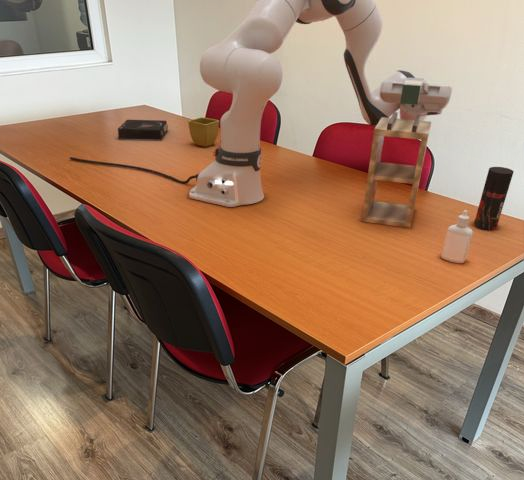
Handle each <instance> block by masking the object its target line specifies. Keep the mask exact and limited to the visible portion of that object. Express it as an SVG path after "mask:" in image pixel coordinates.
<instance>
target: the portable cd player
mask: <svg viewBox="0 0 524 480" xmlns="http://www.w3.org/2000/svg"><path fill="white" fill-rule="evenodd" d="M168 130H169V125H168V122H167V120H161V119H160V120H159V119H157V120H155V119H126V120H125V121H124V122H123V123H122V124H121V125H120V126H119V127H118V128H117V133H118V140H120V141H121V140H122V141H124V140H126V141H155V142H157V141H159V142H160V141H161V140H162V139H163V138H164V136H165V135H166V133H167V132H168Z"/></svg>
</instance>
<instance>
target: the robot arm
mask: <svg viewBox="0 0 524 480" xmlns="http://www.w3.org/2000/svg"><path fill="white" fill-rule="evenodd" d="M331 18H336V21H337V23H338V25H339V27H340V29H341V30H342V32H343V35H344V40H345V49H344V52H343V60H344V65H345V67H346V70H347V73H348V76H349V79H350V83H351V85H352V87H353V90H354V93H355V96H356V99H357V102H358V106H359V110H360V114H361V116H362V118H363V120H364V121H365V122H366V123H367V124H368V125H370V126H371V127H376V126H377V124H378V122H379V121H380V119H381V118H382V117H385V118H391V117H392V115H393V113H394V112H397V111H399V119H407V120H415V118H416V116H417V114H421V117H420V121H427V119H428V116H437V115H441V114H442V113H443V110H444V109H446V107H447V106H448V104H449V103H450V100H451V96H452V91H453V87H452V86H451V85H446V84H445V85H444V84H432V83H427V82H426V81H427V80H425V79H424V81H423V87H422V92H421V97H420V100H419V102H418V104H417V105H415V104H403V103H400V101H401V95H402V88H403V84H404V82H405V81H406V79H407V78H416V77H415V76H414V75H413V74H412V73H411V72H410V71H407V70H402V69H401V70H400V69H399V70H396V71H394V72H393V73H392V74H391V75H390V76H388V77H387V78H386V79H385V80H384V81H382V82H381V83H380V85H378V86H377V87H376V88H375V89H374V90H373V91H371V88H370V86H369V83H368V79H367V77H366V74H365V73H366V72H365V68H366V63H367V61H368V60H369V57H370V55H371V53H372V52H373V50H374V48H375V47H376V45H377V43H378V42H379V39H380V37H381V34H382V30H383V19H382V15H381V12H380V10H379V8H378V6H377V4H376V2H375V0H257V1H256V2H255V4H254V5H253V7H252V9H250V12H249V13H248V15H247V16H246V17H245V18H244V20H243V21H242V22H241V23H240V24H239V25H238V26H237V27H236V28H234V30H233V31H231V32H230V33H229V34H228V35H227V36H225V38H223V39H222V40H221V41H220V42H218V43H217V44H214V45H213V46H210V47H208V48H206V50H205V51H203V53H202V55H201V57H200V61H199V72H200V76H201V79H202V80H203V82H204V83H205V84H206V85H208V86H210V87H211V88H212V89H215V90H217V91H219V92H224V93H228V94H232V101H231V105H230V107H229V110H226V111H225V112H224V113H223V115H222V116H221V118H220V120H219V128H220V144H219V145H217V147H216V148H215V149H214V151H213V152H212V157H215V159H214V160H213V161H212V162H211V163H209V164H208V165H207V166H206V167H205V168H203V169H202V170H201V171H200V172H199V173H196V174H195V175H191V176H189V177H187V179H186V180H180V179H178V178H176V177H174V176H172V175H168V174H166V173H163V172H160V171H156V170H153V169H149V168H145V167H140V166H136V165H128V164H121V163H114V162H106V161H97V160H90V159H83V158H77V157H74V156H70V157H69V159H70V160H72V161H77V162H83V163H89V164H97V165H103V166H112V167H113V166H114V167H119V168H120V167H121V168H129V169H135V170H139V171H144V172H148V173H152V174H156V175H159V176H162V177H164V178H167V179H170V180H172V181H174V182H176V183H178V184H183V185H184V184H185V185H186V184H189V182H190V181H191V180H192V179H195V182H196V185H195V186H192V188H191V189H190V190H189V193H188V197H189V199H192V200H196V201H201V202H206V203H210V204H214V205H219V206H223V207H228V208H235V207H238V206H245V205H246V206H247V205H253V204H257V203H259V202H261V201H263V200H264V199H265V194H264V191H263V184H262V176H261V168H262V148H261V145H260V144H261V127H262V126H261V124H262V118H263V114H264V111H265V107H266V106H267V104H268V102H269V100H270V99H272V97H273V96H274V95H276V94H277V93H278V91H279V90H280V88H281V85H282V82H283V78H284V77H283V76H284V74H283V66H282V64H281V61H280V60H279V58H278V57H276V56H275V55H273V53H275V52H277V51H278V50H279V49H280V48H281V47H282V45H283V44H284V42H285V41H286V40H287V37H288V35H289V34H290V32H291V30H292V29H293V27H294V25H295V24H296V23H297V24H299V25H310V24H312V23H317V22H324V21H326V20H330V19H331Z"/></svg>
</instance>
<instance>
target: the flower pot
mask: <svg viewBox="0 0 524 480" xmlns="http://www.w3.org/2000/svg"><path fill="white" fill-rule="evenodd" d="M187 124H188V130H189V134H190V137H191V140H192V141H193V143H194V144H195V146H199V147H204V148H207V147H210V146H213V145H214V144H215V143H216V140H217V138H218V135H219V128H220V120H219V119H214V118H208V117H202V116H201V117H197V118H194V119H190V120H188V121H187Z"/></svg>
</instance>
